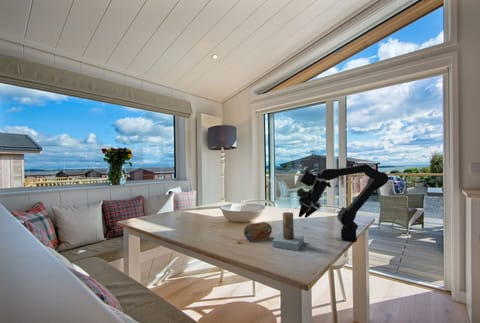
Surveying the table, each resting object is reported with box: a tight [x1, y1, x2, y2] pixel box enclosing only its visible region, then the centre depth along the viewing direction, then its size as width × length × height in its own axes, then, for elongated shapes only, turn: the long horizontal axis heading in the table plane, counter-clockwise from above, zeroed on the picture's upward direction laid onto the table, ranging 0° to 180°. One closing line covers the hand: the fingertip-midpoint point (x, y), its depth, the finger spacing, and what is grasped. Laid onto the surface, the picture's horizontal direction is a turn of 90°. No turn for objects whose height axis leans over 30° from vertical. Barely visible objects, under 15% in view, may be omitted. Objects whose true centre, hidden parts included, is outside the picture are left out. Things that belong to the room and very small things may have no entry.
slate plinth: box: [272, 232, 305, 251], centre depth 113 cm, size 12×12×3 cm
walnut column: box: [282, 211, 295, 240], centre depth 113 cm, size 5×5×12 cm
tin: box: [243, 221, 273, 241], centre depth 122 cm, size 15×3×8 cm, turn 105°
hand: (302, 217), depth 121 cm, fingers open, 9 cm apart
